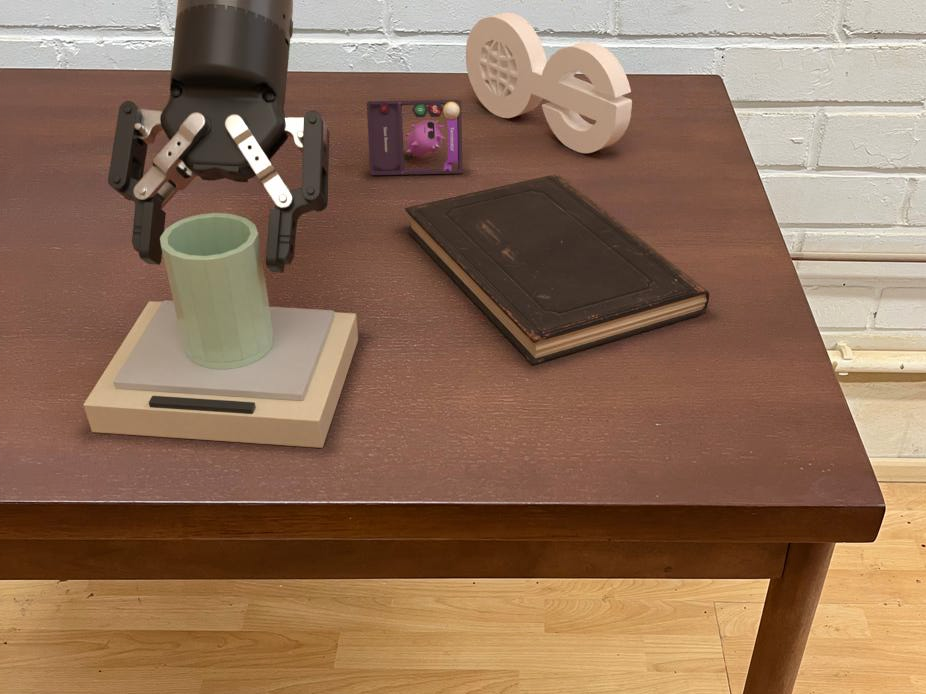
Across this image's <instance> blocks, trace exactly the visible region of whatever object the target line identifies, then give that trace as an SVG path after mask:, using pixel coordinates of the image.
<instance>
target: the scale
mask: <svg viewBox="0 0 926 694" xmlns="http://www.w3.org/2000/svg"><path fill="white" fill-rule="evenodd" d="M269 308H270V315H271V321H272V328H273V337H274V343H273V346H272V348H271V350H270V351H269V352H268V353H267V354H266V355H265V356H264V357H262V358H261V359H259V360H258V361H256V362H254V363H251V364H249V365H246V366H242V367H238V368H232V369H212V368H206V367H203V366H200V365H198V364H196V363H194V362H193V361H191V360H190V359H189V358H188V357H187V355H186V353H185V349H184V346H183V342H182V337H181V333H180V328H179V324H178V320H177V315H176V311H175V306H174V302H173V300H162V301H153V300H150V301H148V302H147V304H146V305H145V306H144V309H143V310H142V311H141V313H140V315H139V316H138V318H137V319H136V321H135V323H134V324H133V326H132V327H131V329H130V330H129V332H128V333H127V334H126V337H125V338H124V340H123V342H122V343H121V344H120V346H119V348H118V349H117V351H116V352H115V354H114V356H113V357H112V359H111V361H110V362H109V363H108V365H107V366H106V368H105V370H104V371H103V373H102V374H101V376H100V377H99V378H98V381H97V382H96V384H95V385H94V387H93V389H92V390H91V391H90V393H89V394H88V396H87V398H86V400H85V401H84V403H83V409H84V412H85V415H86V418H87V421H88V425H89V427H90V431H91V433H101V434H112V435H113V434H115V435H128V436H129V435H130V436H140V437H141V436H142V437H143V436H144V437H158V438H172V439H184V440H185V439H188V440H200V441H201V440H202V441H214V442H215V441H216V442H230V443H243V444H258V445H259V444H260V445H271V446H272V445H273V446H287V447H288V446H290V447H303V448H314V449H315V448H317V449H318V448H319V449H322V448H324V445H325V442H326V440H327V436H328V433H329V430H330V427H331V424H332V421H333V418H334V415H335V413H336V409H337V406H338V402H339V400H340V397H341V394H342V390H343V388H344V385H345V382H346V378H347V376H348V373H349V369H350V367H351V363H352V361H353V357H354V354H355V351H356V348H357V345H358V342H359V332H358V320H357V319H358V318H357V313H356V312H355V313H353V312H352V313H351V312H337V311H336V312H335V310H332V309H316V308H301V307H299V308H298V307H284V306H283V307H282V306H269Z"/></svg>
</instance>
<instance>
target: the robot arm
mask: <svg viewBox="0 0 926 694" xmlns="http://www.w3.org/2000/svg"><path fill="white" fill-rule="evenodd" d="M293 13H294V0H177V6H176V14H175V26H174V35H173V36H174V38H173V46H172V47H173V48H172V55H171V56H172V57H171V67H170V77H169V98H168V101H167V103H166V105H165V106H164V108H163V109H162V110H156V109H148V108H147V109H146V108H139V107H138V105H137V104H136V103H135V102H133V101H131V100H125V101H123V102H121V104H120V106H119V109H118V113H117V121H116V127H115V133H114V139H113V147H112V152H111V159H110V165H109V170H108V178H107V181H108V185H109V186H110V187H111V188H112V189H113V190H115V192H117V193H118V194H120V195H121V196H122V197H123V198H125V199H126V200H127V201H130V202H131V201H132V202H134V216H133V225H132V227H133V228H132V235H131V244H132V247H133V250H134V251H136V252H137V253H138V256H139V258H140V259H141V260H142V261H143V262H144V263H146V264H148V265H157V266H158V265H159V266H160V264H161V263H162V258H163V253H162V249H161V243H160V237H161V235H162V234H163V232H164V231H165V229H166V227H165V226H166V216H167V213H166V211H164V210H163V209H164V208H165V206H166V205H167V204H168V203H169V202H170V201H171V200H172V198H174V197H175V195H176V194H177V193H178V192H179V191H183V190H185V189H187V187H188V186H189V185H190V184H191V183H192V182H193V180H194V179H195V178H196V177H199V178H200V179H201V180H202V181H211V182H213V181H218V180H224V179H226V180H229V181H232V182H236V183H248V182H249V180H250V179H253V178H255V177H256V176H257V178H258V179H259V181H260V182H261V184H262V185H263V187H264V189H265V190H266V192H267V194H268V195H269V196H270V198H271V199H272V201H273V203H274V209H269V215H268V216H269V217H268V228H267V237H266V238H267V239H266V250H265V267H266V268H267V269H268V270H269V271H270V272H271V273H280V274H283V273H284V272H285V266H286V265H291V264H292V262H293V261H294V258H295V252H296V251H295V250H296V240H297V239H296V238H297V228H298V221H299V219H300V218H301V216H303V215H304V214H306V213H310V212H316V213H320V212H323V211H325V210H327V207H328V203H329V169H330V167H329V165H330V130H329V128H328V126H327V124H326V122H325V120H324V119H323V117H322V115H321V113H320V112H319V111H316V110H309V111H308V112H306V113H305V114H304V115H303V116H302V117H301V116H299V117H298V116H296V117H295V116H294V117H291V116H289V117H287V116H286V115H285V103H286V91H287V82H288V80H287V79H288V69H289V59H290V47H291V40H292V37H293V31H294V21H293V15H294V14H293ZM162 131H163V132H164V133H165V135H166V137H167V138H168V140H169V141H168V142H167V143H166V144H165V145H164V146H163V147H162V149H161V150H160V151H159V152H158V153H157V154H156V156H155V157H154V158H153V159H152V162H151V163H152V165H151V167H150V168H149V169H148V171H147V172H146V173H145V174H144V171H145V165H146V158H147V152H148V146H149V145H150V144H154V143H155V140H156V137H157V134H159V132H162ZM289 137H290V138H293V141H294V144H295V145H296V148H297V149H298V151H300V152H301V153H302V164H301V165H302V168H301V187H297V188H295V189H291V190H290V188H289V187H288V185H287V183H286V182H285V180H284V179H283V178H282V175H281V174H280V173H279V171H278V169H277V168H276V166H275V165H274V163H273V161H272V159H273V157H274V156H275V155H276V154H277V152H278V151H279V150H280V149H281V148H282V146H283V145H284V144H285V143H286V142H287V140H288V139H289Z"/></svg>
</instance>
